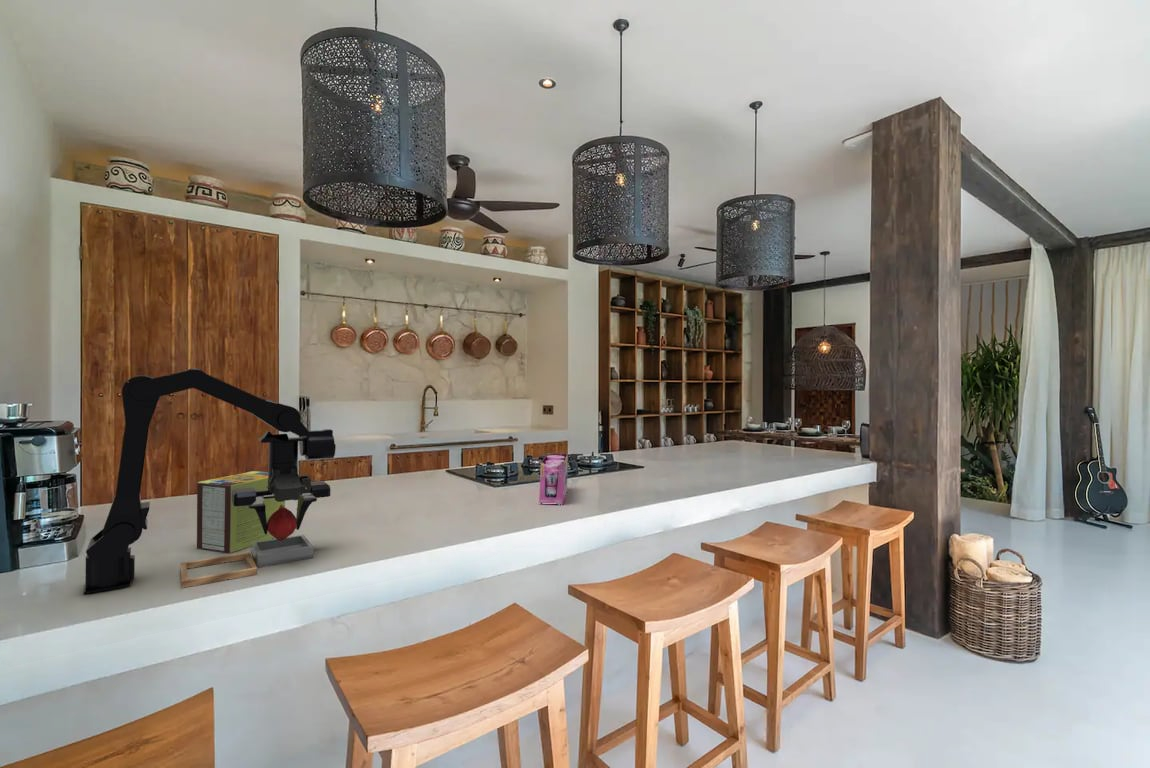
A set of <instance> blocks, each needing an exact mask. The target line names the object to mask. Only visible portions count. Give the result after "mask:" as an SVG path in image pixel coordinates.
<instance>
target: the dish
mask: <svg viewBox="0 0 1150 768" xmlns="http://www.w3.org/2000/svg"><path fill="white" fill-rule="evenodd" d="M251 555H252V558H253V560H254V562H255V565H256V564H257V565H256V567H257V568H262V567H261V566H263V567H267V566H266V565H269V566H274V565H273V564H275V565H279V564H280V565H281V564H285V562H286V563H291V562H297V561H301V560H309V559H313V558H314V545H313V544H312V542H310V540H309V539H308V537H306V535H304V534H299V535H293V536H291V535H290V536H288V537H287V538H286V539H284V540H283V541H279V540H277V539H276V538H274V539H271V540H264V541H258V542H252V546H251ZM278 563H279V564H278Z"/></svg>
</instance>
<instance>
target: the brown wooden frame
mask: <svg viewBox="0 0 1150 768" xmlns="http://www.w3.org/2000/svg"><path fill="white" fill-rule="evenodd" d="M244 560H245V561H246V564H247V566H248V568H244V569H239V570H234V571H233V570H232V571H227V572H223V573H222V572H221V573H216V574H210V575H203V576H199V577H198V576H197V577H193V578H188V569H187V568H190V569H195V568H194V567H196V568H200V567H201V566H202V567H206V566H207V565H208V566H212V565H213V564H214V565H219V564H218V563H220V564H225V563H224V562H226V563H230V562H229V561H232V562H238V561H244ZM256 574H257V575H258V567H257V565H256V562H255V560H254V558H253V556H252V552H250V551H248V552H241V553H234V554H229V555H228V554H227V555H223V556H216V557H210V558H209V557H208V558H204V559H198V560H191V561H184V562H180V579H181V580H180V582H181V589H185V588H190V586H191V587H195V586H202V585H207V584H211V583H212V582H213V583H218V582H223V580H224V581H228V580H227V579H229V580H234V578H235V579H240V578H245V576H246V577H251V576H254V575H255V576H257V575H256ZM217 581H218V582H217ZM213 583H212V584H213ZM201 584H202V585H201ZM184 587H185V588H184Z"/></svg>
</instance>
